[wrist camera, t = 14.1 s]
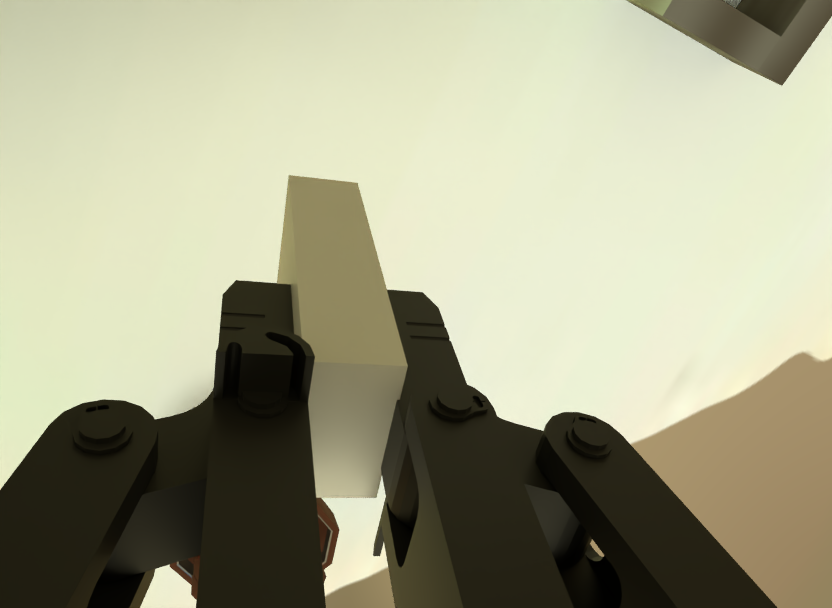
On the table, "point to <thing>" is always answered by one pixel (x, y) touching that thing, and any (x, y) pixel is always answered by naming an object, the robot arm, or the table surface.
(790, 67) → the shallow tray
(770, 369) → the table surface
